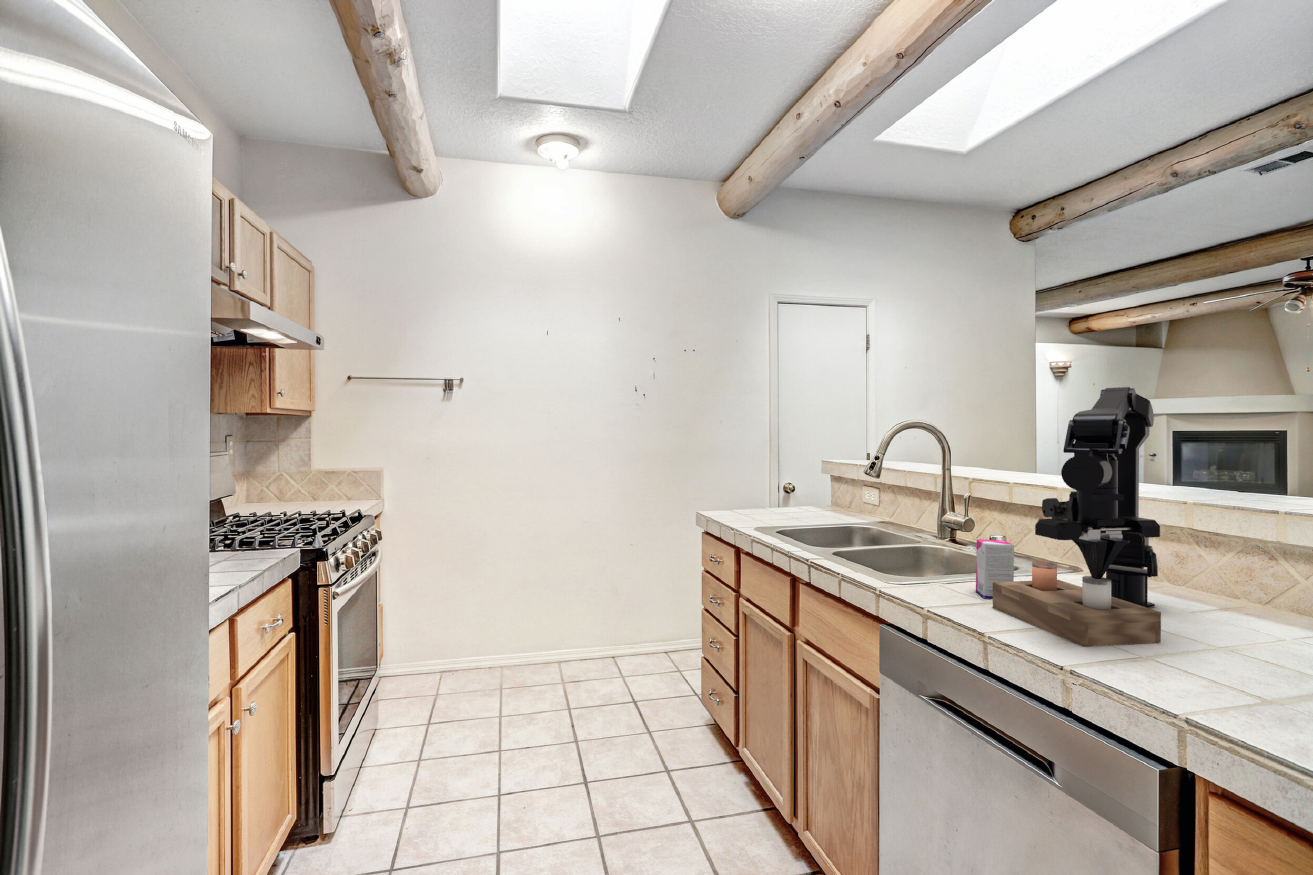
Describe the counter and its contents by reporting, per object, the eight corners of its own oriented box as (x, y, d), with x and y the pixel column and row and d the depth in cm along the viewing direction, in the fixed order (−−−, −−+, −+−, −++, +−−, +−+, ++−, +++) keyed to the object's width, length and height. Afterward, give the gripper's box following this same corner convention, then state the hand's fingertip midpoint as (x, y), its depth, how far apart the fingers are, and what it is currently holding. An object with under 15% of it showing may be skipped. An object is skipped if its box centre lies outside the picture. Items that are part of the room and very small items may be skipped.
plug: (1097, 607, 107) (1097, 575, 107) (1117, 613, 103) (1117, 581, 103) (1076, 608, 107) (1076, 576, 107) (1095, 614, 103) (1095, 582, 103)
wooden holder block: (1058, 604, 123) (1058, 579, 123) (1160, 642, 101) (1160, 611, 101) (992, 607, 121) (992, 582, 121) (1082, 646, 99) (1082, 615, 99)
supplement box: (1014, 600, 126) (1014, 544, 126) (983, 598, 127) (983, 543, 127) (1004, 592, 132) (1004, 539, 132) (974, 591, 133) (974, 538, 133)
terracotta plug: (1046, 589, 119) (1046, 561, 119) (1062, 594, 115) (1062, 565, 115) (1027, 590, 119) (1027, 561, 118) (1042, 595, 115) (1042, 566, 114)
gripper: (1106, 481, 114) (1106, 566, 114) (1012, 483, 112) (1013, 569, 112) (1163, 487, 103) (1162, 581, 103) (1060, 489, 100) (1060, 585, 101)
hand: (1096, 578), depth 105 cm, fingers closed
